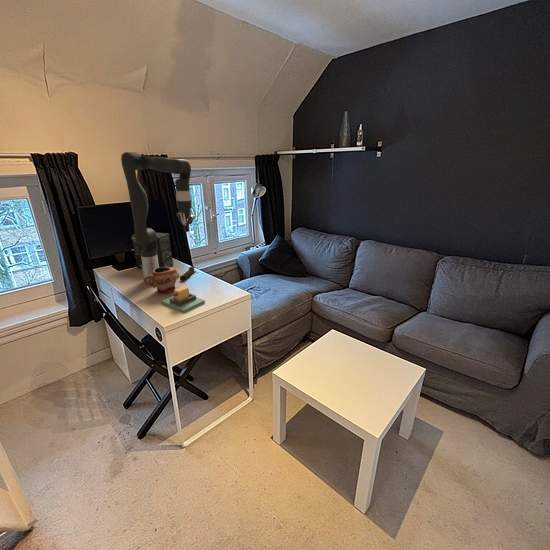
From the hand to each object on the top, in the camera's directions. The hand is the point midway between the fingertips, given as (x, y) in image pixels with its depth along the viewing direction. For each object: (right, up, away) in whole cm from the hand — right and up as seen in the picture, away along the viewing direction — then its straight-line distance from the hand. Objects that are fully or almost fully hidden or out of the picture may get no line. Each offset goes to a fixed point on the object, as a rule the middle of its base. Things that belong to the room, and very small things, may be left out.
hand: (186, 231), depth 164 cm
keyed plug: (-1, -38, -5) cm, 38 cm away
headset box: (-37, -18, +49) cm, 64 cm away
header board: (-1, -39, -4) cm, 39 cm away
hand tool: (-9, -25, +33) cm, 43 cm away
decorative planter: (-16, -34, +9) cm, 39 cm away
